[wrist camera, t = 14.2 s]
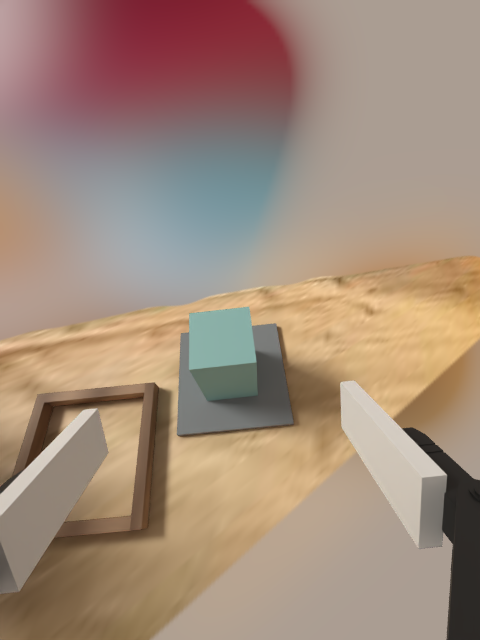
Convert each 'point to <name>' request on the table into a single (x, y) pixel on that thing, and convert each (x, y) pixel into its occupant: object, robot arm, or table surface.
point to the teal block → (223, 353)
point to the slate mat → (237, 411)
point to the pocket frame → (144, 459)
